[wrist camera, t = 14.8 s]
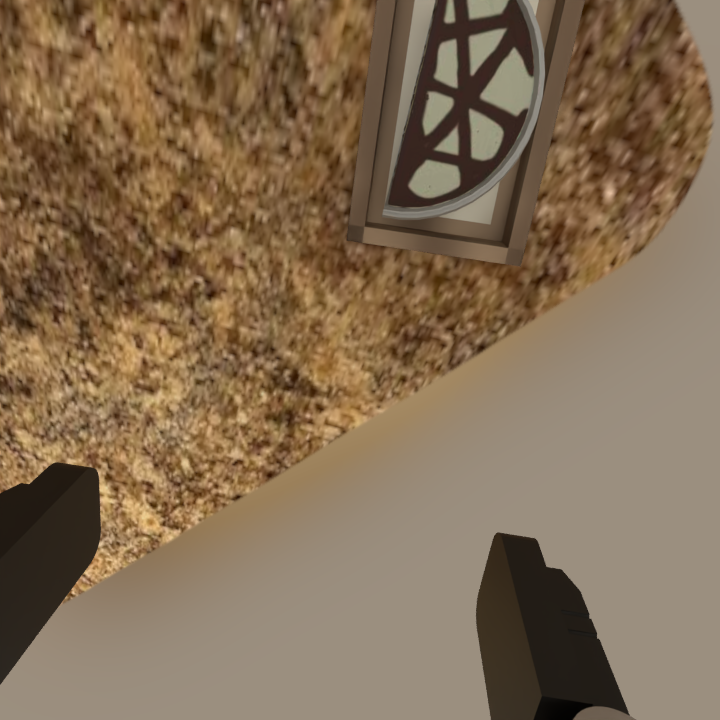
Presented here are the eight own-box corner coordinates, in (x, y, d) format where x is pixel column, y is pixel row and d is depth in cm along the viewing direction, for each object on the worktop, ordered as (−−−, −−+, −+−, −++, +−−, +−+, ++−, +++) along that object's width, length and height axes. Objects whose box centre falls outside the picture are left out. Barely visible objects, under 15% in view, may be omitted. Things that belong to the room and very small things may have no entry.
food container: (477, 225, 37) (502, 252, 28) (385, 202, 37) (380, 221, 28) (543, 12, 33) (599, -40, 23) (439, -15, 32) (454, -79, 23)
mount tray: (351, 232, 39) (346, 240, 36) (389, -64, 33) (387, -86, 30) (510, 256, 39) (520, 266, 36) (578, -37, 33) (598, -57, 29)
